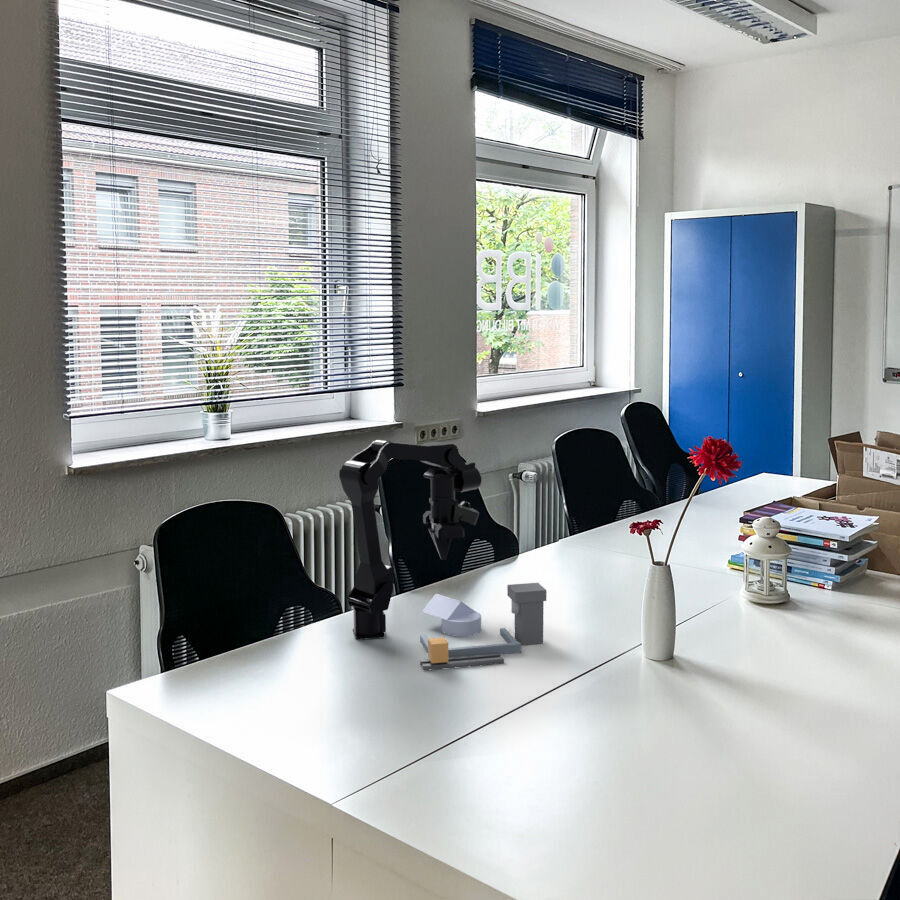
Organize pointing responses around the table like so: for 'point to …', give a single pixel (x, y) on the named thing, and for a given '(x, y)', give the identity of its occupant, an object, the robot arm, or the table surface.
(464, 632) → the wedge on round base
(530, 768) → the table surface
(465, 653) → the press bed
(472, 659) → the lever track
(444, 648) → the tan wooden cube
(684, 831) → the table surface
